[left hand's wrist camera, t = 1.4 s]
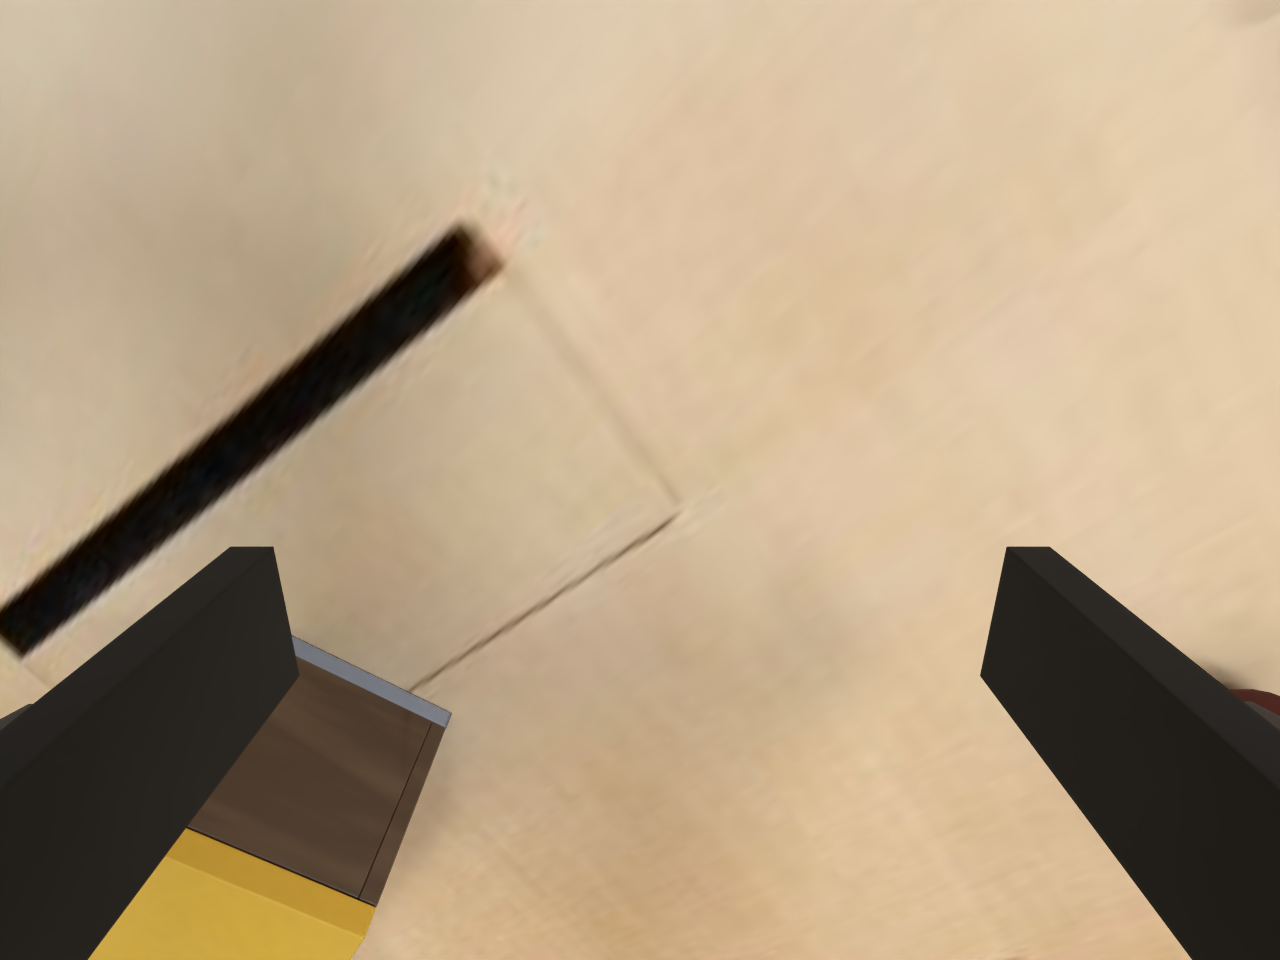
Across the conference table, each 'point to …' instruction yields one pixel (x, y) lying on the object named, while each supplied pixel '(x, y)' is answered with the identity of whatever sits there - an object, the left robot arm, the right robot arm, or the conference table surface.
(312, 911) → the lid
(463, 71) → the conference table surface
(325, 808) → the chest
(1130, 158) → the conference table surface
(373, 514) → the conference table surface
